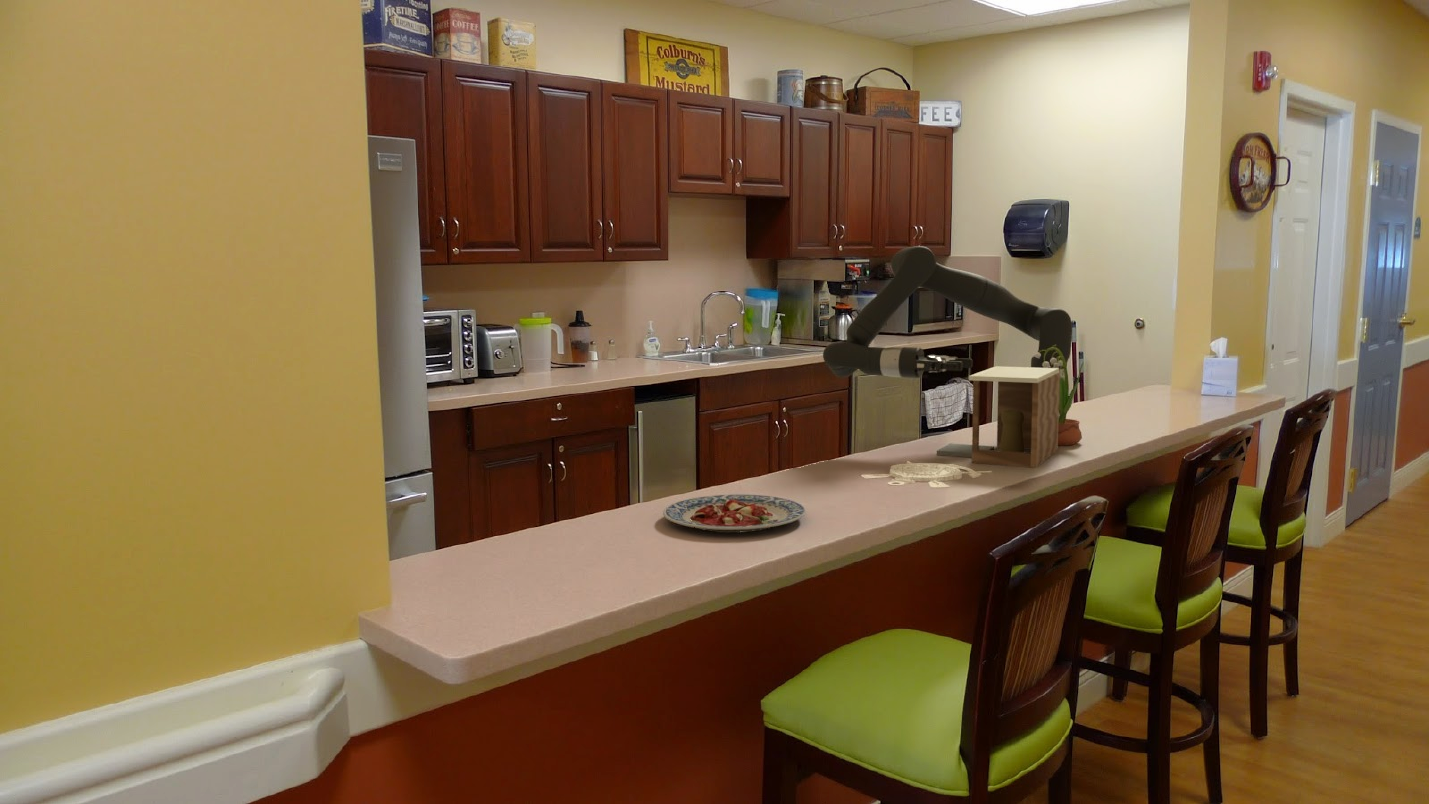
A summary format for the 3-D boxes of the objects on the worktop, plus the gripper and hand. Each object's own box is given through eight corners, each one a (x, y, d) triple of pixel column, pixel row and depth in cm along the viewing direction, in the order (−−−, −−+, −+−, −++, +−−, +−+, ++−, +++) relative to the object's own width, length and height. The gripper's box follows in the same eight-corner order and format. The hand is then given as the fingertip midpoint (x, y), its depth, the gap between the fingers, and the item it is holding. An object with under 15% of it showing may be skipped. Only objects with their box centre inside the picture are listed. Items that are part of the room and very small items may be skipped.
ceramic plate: (635, 520, 188) (635, 504, 187) (744, 499, 203) (744, 484, 203) (721, 549, 167) (721, 531, 167) (835, 523, 183) (835, 506, 182)
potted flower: (1032, 445, 255) (1034, 345, 252) (1031, 439, 265) (1034, 342, 261) (1082, 447, 252) (1085, 346, 248) (1080, 440, 261) (1083, 343, 258)
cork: (1006, 452, 246) (1007, 407, 245) (1029, 455, 242) (1030, 409, 241) (993, 456, 242) (994, 410, 241) (1016, 459, 238) (1017, 412, 237)
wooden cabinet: (994, 445, 256) (995, 366, 253) (1057, 450, 249) (1059, 368, 246) (967, 462, 235) (968, 375, 233) (1036, 467, 228) (1038, 378, 225)
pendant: (999, 471, 227) (999, 465, 226) (937, 494, 206) (937, 487, 205) (913, 461, 241) (914, 455, 240) (848, 481, 219) (848, 475, 219)
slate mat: (950, 447, 255) (950, 443, 255) (994, 450, 250) (994, 446, 249) (936, 454, 245) (936, 450, 245) (982, 458, 240) (982, 453, 240)
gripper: (892, 349, 246) (959, 351, 238) (911, 345, 258) (975, 347, 250) (892, 380, 247) (958, 383, 239) (911, 374, 259) (974, 377, 251)
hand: (967, 364), depth 245 cm, fingers open, 8 cm apart
